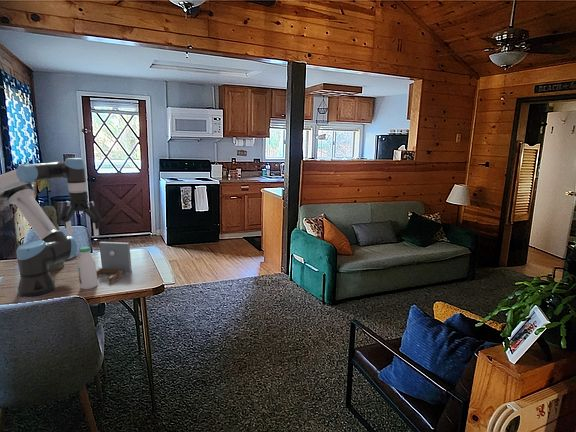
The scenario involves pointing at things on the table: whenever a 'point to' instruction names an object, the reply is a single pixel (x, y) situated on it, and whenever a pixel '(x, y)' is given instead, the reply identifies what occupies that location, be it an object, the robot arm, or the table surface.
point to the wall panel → (115, 255)
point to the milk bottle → (87, 269)
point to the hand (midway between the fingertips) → (83, 235)
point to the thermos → (52, 216)
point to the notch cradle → (111, 273)
